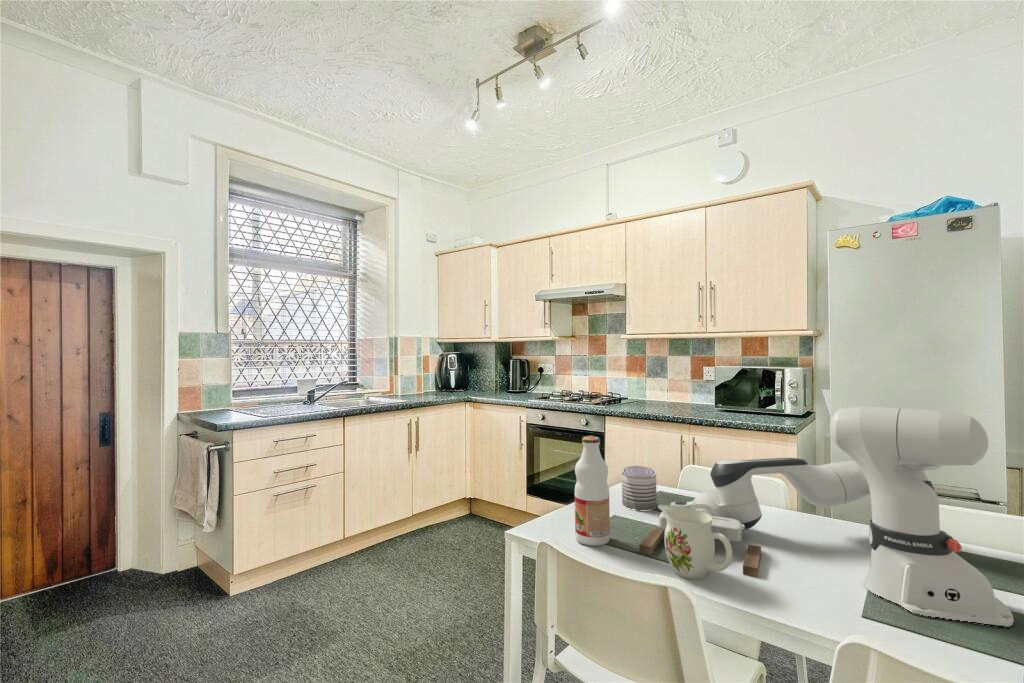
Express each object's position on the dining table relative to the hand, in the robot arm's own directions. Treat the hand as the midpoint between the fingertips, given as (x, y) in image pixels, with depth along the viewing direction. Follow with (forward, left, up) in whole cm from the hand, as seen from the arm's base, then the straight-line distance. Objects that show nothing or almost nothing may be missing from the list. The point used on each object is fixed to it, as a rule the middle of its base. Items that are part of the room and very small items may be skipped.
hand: (694, 535), depth 118 cm
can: (+23, -33, -6) cm, 41 cm away
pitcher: (-1, +9, -6) cm, 11 cm away
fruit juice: (+26, +2, -6) cm, 27 cm away
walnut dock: (-1, -3, -5) cm, 6 cm away
